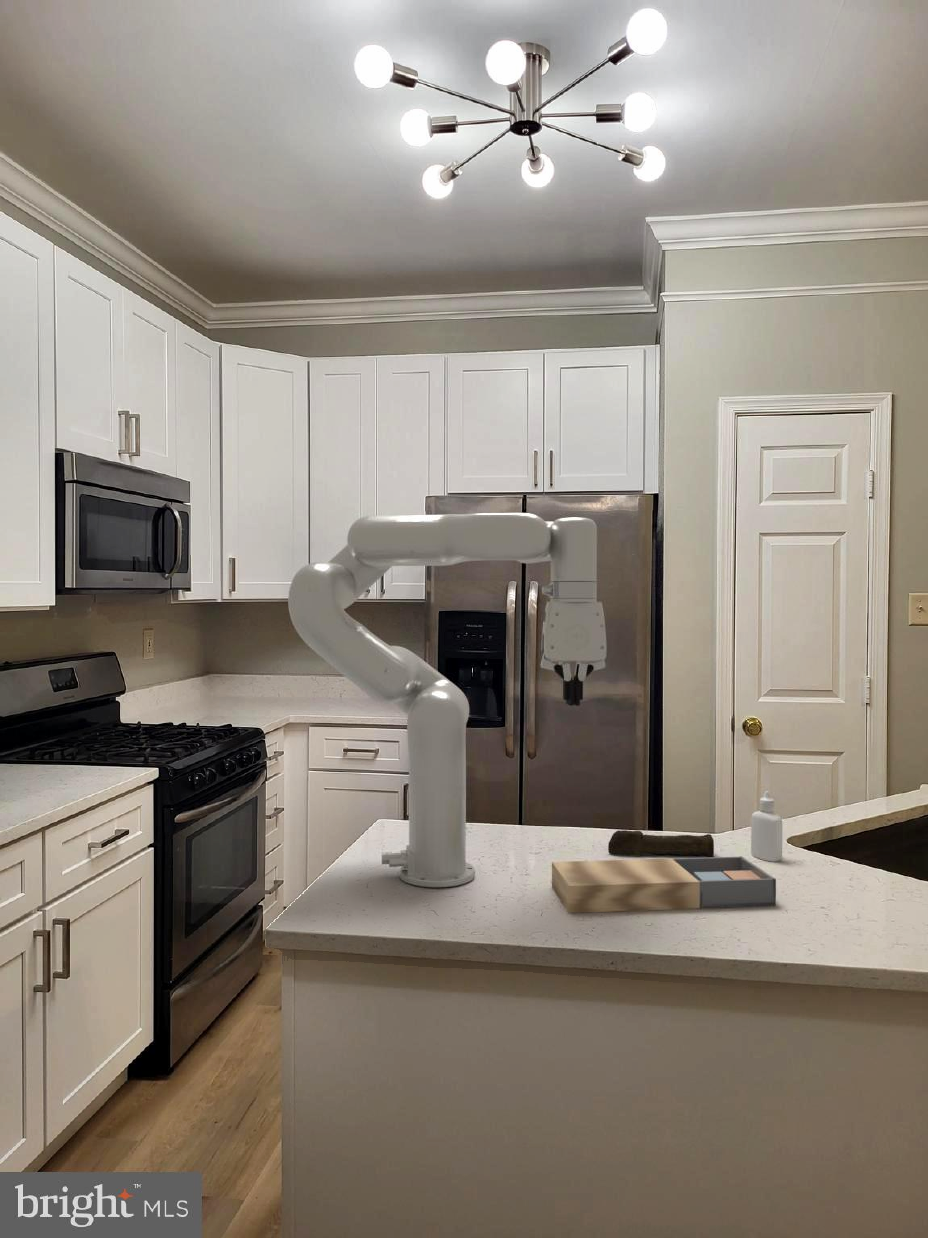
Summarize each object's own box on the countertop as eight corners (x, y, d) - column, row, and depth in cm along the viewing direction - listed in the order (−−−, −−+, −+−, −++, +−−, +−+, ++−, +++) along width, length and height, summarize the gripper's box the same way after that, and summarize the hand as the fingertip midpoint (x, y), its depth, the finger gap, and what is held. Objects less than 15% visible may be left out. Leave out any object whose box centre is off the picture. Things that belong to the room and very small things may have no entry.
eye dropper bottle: (772, 853, 159) (773, 788, 159) (784, 862, 153) (785, 795, 153) (748, 853, 159) (749, 788, 159) (760, 862, 153) (760, 795, 153)
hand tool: (710, 853, 160) (710, 828, 160) (715, 859, 156) (715, 834, 156) (607, 852, 161) (607, 827, 161) (609, 858, 157) (609, 832, 157)
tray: (699, 908, 130) (699, 881, 130) (671, 883, 142) (671, 858, 142) (775, 905, 131) (775, 879, 131) (741, 880, 143) (742, 856, 143)
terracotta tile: (762, 879, 134) (762, 895, 134) (750, 870, 139) (750, 886, 139) (734, 879, 134) (733, 896, 134) (723, 871, 138) (722, 886, 138)
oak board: (568, 913, 128) (569, 886, 127) (551, 886, 139) (551, 862, 139) (699, 908, 130) (699, 881, 130) (671, 883, 142) (671, 858, 142)
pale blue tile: (703, 897, 133) (703, 881, 133) (693, 887, 138) (693, 872, 138) (731, 896, 134) (731, 880, 134) (721, 887, 138) (721, 871, 138)
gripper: (533, 592, 138) (532, 707, 138) (624, 593, 139) (623, 707, 140) (524, 593, 145) (524, 702, 145) (611, 594, 147) (610, 701, 147)
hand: (572, 704), depth 142 cm, fingers closed
